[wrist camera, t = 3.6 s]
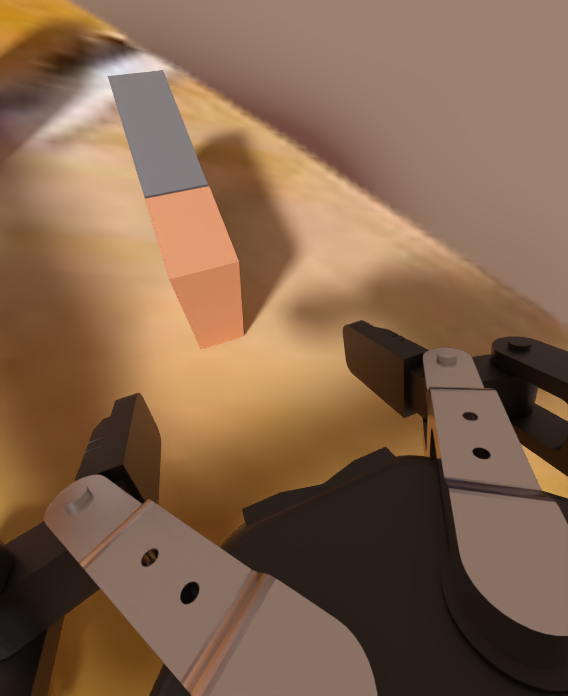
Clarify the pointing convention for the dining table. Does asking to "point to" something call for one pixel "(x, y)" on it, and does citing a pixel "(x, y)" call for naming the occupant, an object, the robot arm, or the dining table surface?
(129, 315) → the dining table surface
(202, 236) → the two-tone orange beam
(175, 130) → the gray block
